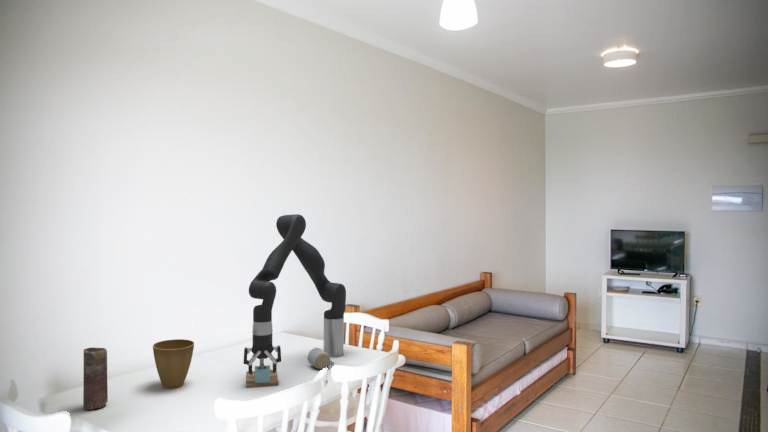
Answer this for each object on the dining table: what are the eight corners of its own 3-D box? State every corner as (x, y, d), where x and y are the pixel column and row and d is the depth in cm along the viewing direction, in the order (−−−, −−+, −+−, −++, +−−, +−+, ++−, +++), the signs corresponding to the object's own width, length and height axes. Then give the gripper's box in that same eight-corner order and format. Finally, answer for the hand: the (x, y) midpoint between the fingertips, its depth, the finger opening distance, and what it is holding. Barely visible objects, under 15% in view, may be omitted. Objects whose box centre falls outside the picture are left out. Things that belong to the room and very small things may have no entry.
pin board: (246, 374, 220) (246, 357, 220) (276, 372, 223) (276, 355, 223) (246, 387, 205) (246, 369, 205) (278, 385, 208) (278, 366, 208)
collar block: (254, 378, 212) (254, 366, 212) (269, 377, 213) (269, 365, 213) (255, 383, 206) (255, 370, 206) (270, 382, 208) (270, 369, 208)
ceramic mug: (315, 371, 225) (316, 353, 225) (307, 366, 232) (307, 348, 232) (338, 367, 231) (338, 349, 231) (328, 362, 238) (329, 345, 238)
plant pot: (154, 394, 197) (154, 351, 197) (151, 382, 210) (151, 341, 210) (197, 388, 204) (197, 346, 203) (191, 376, 217) (191, 337, 217)
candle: (89, 402, 189) (89, 345, 188) (111, 402, 189) (111, 345, 189) (79, 411, 181) (78, 352, 180) (102, 410, 182) (101, 351, 181)
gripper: (280, 329, 215) (280, 369, 215) (243, 330, 211) (243, 371, 212) (281, 333, 207) (281, 375, 208) (243, 335, 204) (243, 378, 204)
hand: (262, 373), depth 210 cm, fingers open, 8 cm apart
